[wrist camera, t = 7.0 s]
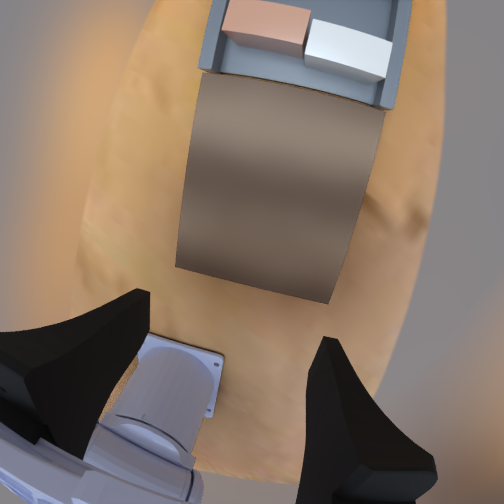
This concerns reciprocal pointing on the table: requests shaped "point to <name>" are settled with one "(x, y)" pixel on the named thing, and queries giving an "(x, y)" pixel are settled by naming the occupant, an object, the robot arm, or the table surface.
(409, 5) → the tray
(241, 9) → the tile terracotta
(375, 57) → the tile cream
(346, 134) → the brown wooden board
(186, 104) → the table surface
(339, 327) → the table surface
